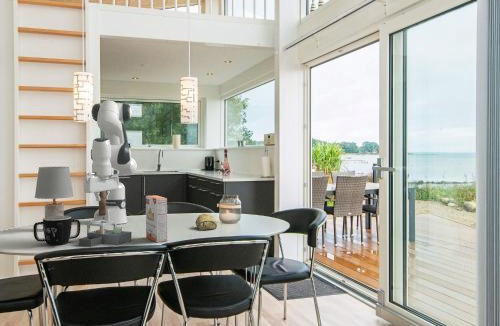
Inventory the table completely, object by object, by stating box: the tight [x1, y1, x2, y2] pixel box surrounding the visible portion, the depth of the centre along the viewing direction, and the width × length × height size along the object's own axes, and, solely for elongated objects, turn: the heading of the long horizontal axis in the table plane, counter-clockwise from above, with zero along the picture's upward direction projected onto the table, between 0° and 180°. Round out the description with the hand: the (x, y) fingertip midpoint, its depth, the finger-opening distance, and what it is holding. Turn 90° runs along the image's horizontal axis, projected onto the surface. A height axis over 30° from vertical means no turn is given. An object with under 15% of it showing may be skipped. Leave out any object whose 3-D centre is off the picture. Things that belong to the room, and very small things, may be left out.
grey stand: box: [86, 220, 133, 245], centre depth 204 cm, size 18×10×8 cm, turn 67°
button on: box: [114, 226, 123, 234], centre depth 202 cm, size 4×4×4 cm
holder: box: [78, 236, 103, 247], centre depth 195 cm, size 7×7×3 cm
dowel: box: [98, 182, 106, 216], centre depth 205 cm, size 3×3×16 cm
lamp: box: [34, 166, 74, 218], centre depth 230 cm, size 19×19×34 cm
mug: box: [33, 215, 81, 246], centre depth 196 cm, size 16×16×12 cm
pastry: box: [195, 213, 218, 231], centre depth 238 cm, size 14×12×8 cm
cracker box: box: [145, 195, 168, 244], centre depth 206 cm, size 14×6×21 cm, turn 33°
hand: (102, 200), depth 205 cm, fingers closed on dowel, 3 cm apart
